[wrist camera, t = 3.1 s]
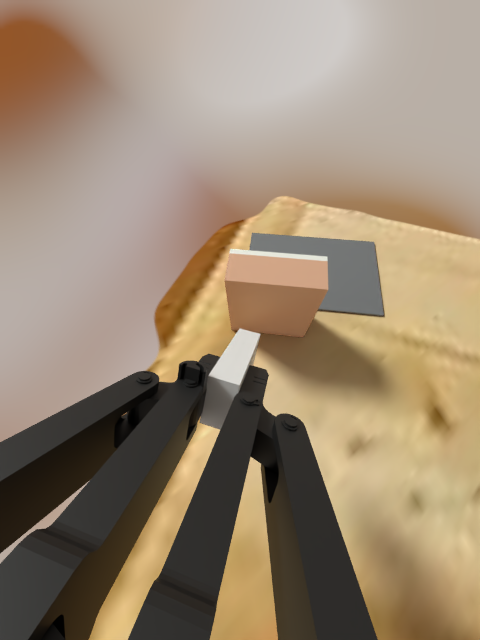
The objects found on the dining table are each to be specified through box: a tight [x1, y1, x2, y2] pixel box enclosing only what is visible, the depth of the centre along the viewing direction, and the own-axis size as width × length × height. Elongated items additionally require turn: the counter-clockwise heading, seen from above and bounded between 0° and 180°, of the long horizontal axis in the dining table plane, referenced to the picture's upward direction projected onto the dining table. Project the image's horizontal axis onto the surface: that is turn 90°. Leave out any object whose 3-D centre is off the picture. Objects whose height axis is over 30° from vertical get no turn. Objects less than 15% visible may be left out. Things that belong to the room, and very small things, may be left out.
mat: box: [250, 233, 384, 316], centre depth 40 cm, size 14×20×1 cm
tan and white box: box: [225, 249, 328, 337], centre depth 31 cm, size 4×10×12 cm, turn 83°
